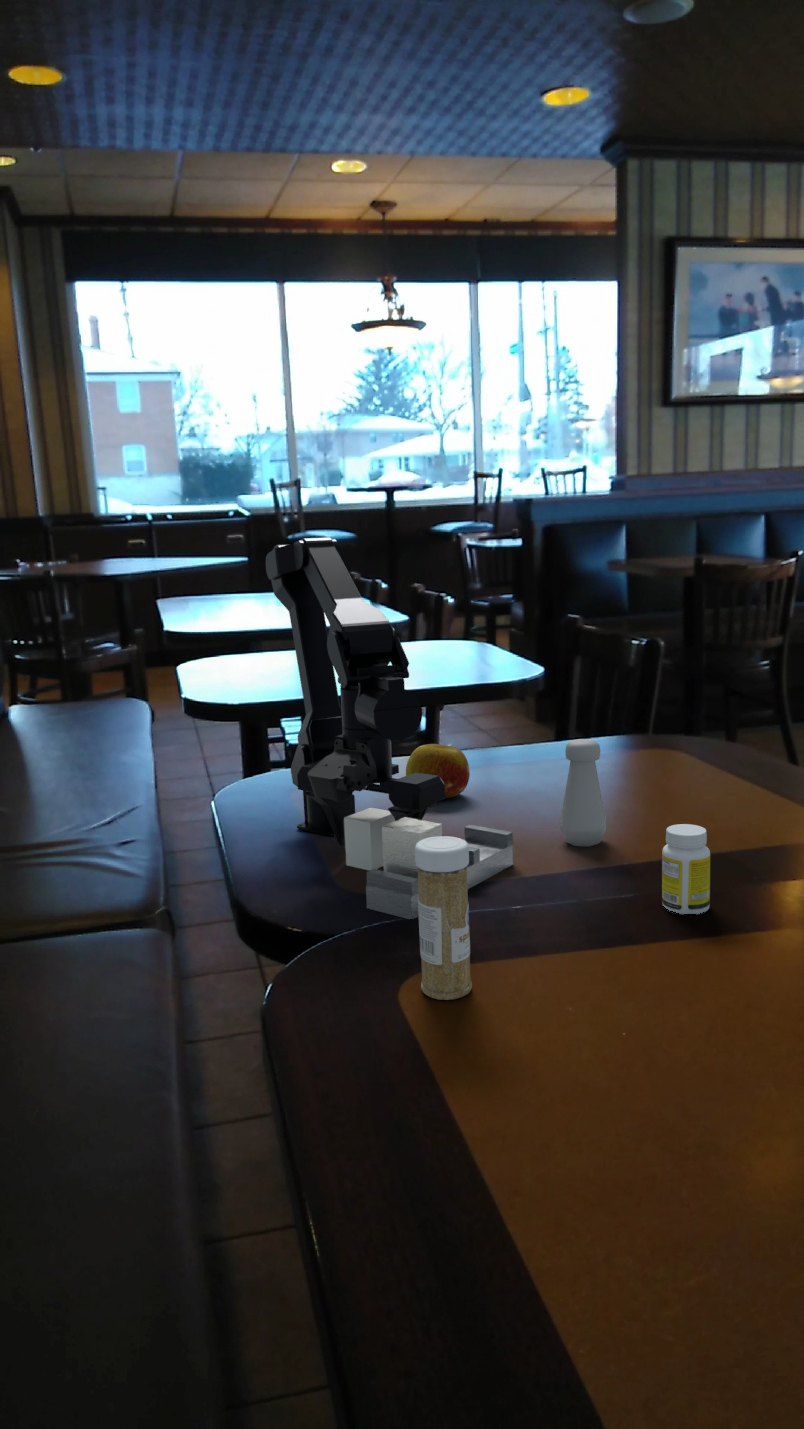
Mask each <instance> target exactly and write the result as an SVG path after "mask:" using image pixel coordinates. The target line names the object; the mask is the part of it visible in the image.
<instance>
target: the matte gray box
mask: <svg viewBox="0 0 804 1429" xmlns="http://www.w3.org/2000/svg"><path fill="white" fill-rule="evenodd" d="M394 821H395V818H394V817H393V815H392V814H391V813H390V812H389V810H388V809H387V810H386V809H380V808H375V807H368V808H365V809H363V810H360V811H358V812H355V814H352V815H350V816H347V817H344V820H343V827H344V846H343V847H344V852H345V864H346V866H347V867H348V866H349V867H353V868H356V869H361V870H365V871H370V870H372V869H377V870H379V869H380V868H381V867H384V864H383V841H382V826H384V825H386V824H389V823H391V822H394Z"/></svg>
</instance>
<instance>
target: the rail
mask: <svg viewBox="0 0 804 1429" xmlns="http://www.w3.org/2000/svg"><path fill="white" fill-rule="evenodd" d="M463 828H464V839H463V840H465V841H466V842H467V843H468V848H469V864H468V865H467V867H468V868H467V890H470V889H471V888H473V887H474V886H477V885H478V884H480V883H482V882H484V881H486V880H488V879H490V878H491V877H493V876H495V875H497V874H498V873H500V872H502V871H504V870H506V869H508V868H509V867H511V866H513V865H514V847H513V844H514V840H513V839H514V838H513V837H514V836H513V831H508V830H503V829H497V828H491V827H486V826H480V825H474V824H468V825H466V826H464V827H463ZM438 836H443V823H438V822H433V821H430V820H423V819H422V820H418V819H412V818H407V817H404V818H401V819H399V820H396V821H394V822H391V823H389V824H386V825H384V826H382V841H383V864H384V866H383V870H381V869H372V870H370V871H369V870H367V871H366V886H365V894H366V895H365V897H366V909H368V910H372V911H376V912H380V913H383V914H388V915H391V916H395V917H400V918H403V919H407V920H410V919H413V918H415V919H416V918H419V910H418V898H419V893H418V888H419V886H418V871H417V866H416V864H415V846H416V844H417V843H418V842H419V841H421V840H423V839H426V838H430V837H438ZM413 920H414V919H413Z"/></svg>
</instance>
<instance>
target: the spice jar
mask: <svg viewBox="0 0 804 1429" xmlns="http://www.w3.org/2000/svg"><path fill="white" fill-rule="evenodd" d="M415 864H416V866H417V871H418V886H419V888H418V893H419V898H418V910H419V916H418V929H419V930H418V932H419V954H420V958H421V963H420V964H421V982H420V983H421V984H420V990H421V992H422V993H423V994H425V995H426V996H428V997H429V998H432V999H433V1000H434V999H436V1000H439V1001H440V1000H441V1001H443V1000H445V1001H449V1000H450V1001H452V1000H457V999H460V998H463V997H464V996H466V995H468V994H469V993H470V992H471V990H472V988H473V982H472V979H471V960H470V959H471V955H470V954H471V938H470V937H471V935H470V933H471V932H470V919H469V918H470V916H469V915H470V914H469V912H470V910H469V909H470V908H469V907H470V906H469V901H468V900H469V896H468V892H469V891H468V890H469V889H468V890H467V868H468V867H467V865H468V864H469V848H468V843H467V842H466V841H465V840H464V839H463V838H459V837H455V836H443V835H442V836H438V837H430V838H426V839H423V840H421V841H419V842H418V843H417V844H416V846H415Z"/></svg>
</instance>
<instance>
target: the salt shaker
mask: <svg viewBox="0 0 804 1429" xmlns="http://www.w3.org/2000/svg"><path fill="white" fill-rule="evenodd" d="M564 751H565V753H564V754H565V758H566V759H567V760H568V761H569V768H568V774H567V779H566V784H565V785H566V786H565V789H564V791H565V792H564V797H563V803H562V810H561V815H560V819H559V820H560V821H559V826H560V830H561V832H562V835H563V836H564V840H565V842H566V843H567V844H570V845H572V846H573V847H592V846H596V845H598V844H601V841H602V839H603V837H604V834H605V832H606V830H607V819H606V818H607V817H606V813H605V810H604V808H605V807H604V803H603V798H602V792H601V786H600V780H599V775H598V769H597V764H596V761H598V760H600V758H601V746H600V743H598V742H597V741H596V740H594V739H589V738H578V739H572V740H570V741H568V742H567V743H566V746H565V750H564Z"/></svg>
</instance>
